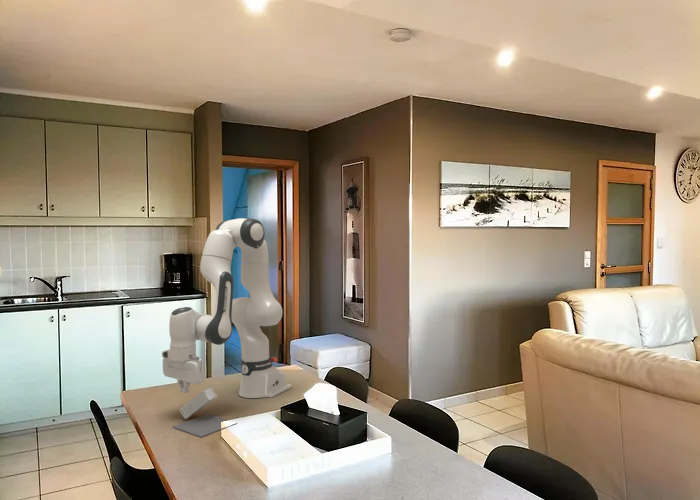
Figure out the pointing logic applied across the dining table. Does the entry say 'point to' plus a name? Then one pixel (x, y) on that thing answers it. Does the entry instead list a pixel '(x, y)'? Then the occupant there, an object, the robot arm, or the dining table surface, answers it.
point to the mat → (201, 425)
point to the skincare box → (198, 403)
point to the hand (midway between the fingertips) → (184, 392)
